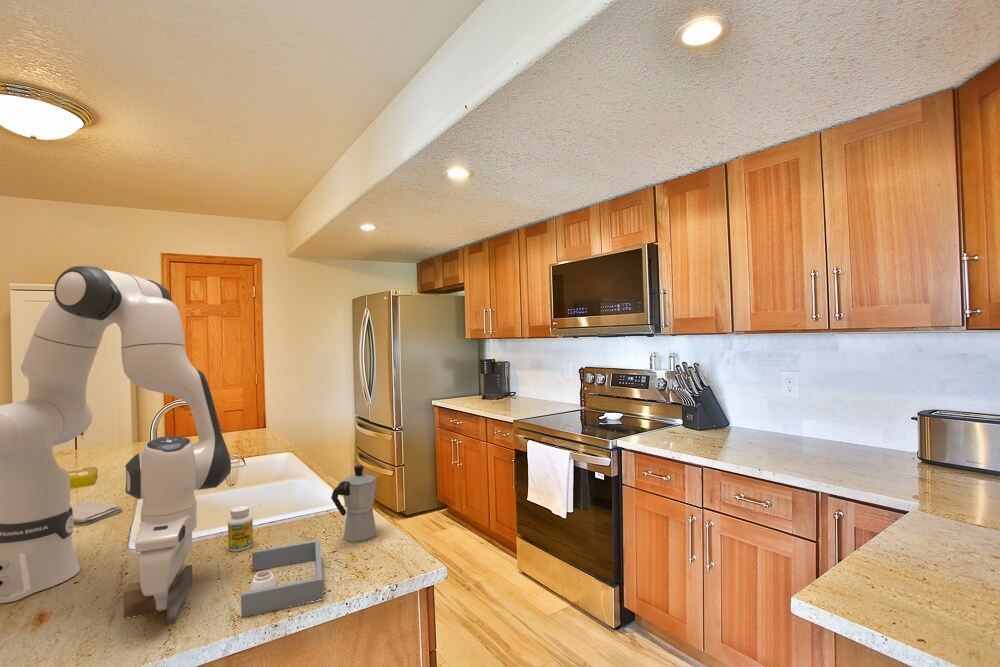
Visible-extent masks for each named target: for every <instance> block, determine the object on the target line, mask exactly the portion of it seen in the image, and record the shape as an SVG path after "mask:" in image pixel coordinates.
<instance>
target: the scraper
mask: <svg viewBox="0 0 1000 667" xmlns="http://www.w3.org/2000/svg"><path fill="white" fill-rule="evenodd" d="M193 583H194V582H193V564H188V565H184V568H183V571H182V573H181V575H180V577H179V576H176V577H175V578H174V580H173V582H172V584H171V585H170V587H169V590H168V594H169V597H168V599H167V609H164V610H159V611H162V612H165V610H167V611H166V621H167V622H166V624H167V625H168V624H169V625H174V624H176V622H177V620H178V618H179V616H180V613H181V611H182V609H183V608H184V606H185V603H186V600H187V599H188V597H189V594H190V593H191V591H192V588H193ZM159 611H158V610H157V609H156V601H155V598H154V596H153V595H151V596H144V595H143V593H142V590H141V584H140V581H139V582H133V583H129V584H128V585H127V586H126V588H125V589H124V591H123V619H124V618H126V619H128V618H127V617H131V618H134V617H133V616H137V617H140V616H139V615H142V616H145V615H144V614H147V615H150V613H152V614H155V613H154V612H157V613H160V612H159Z"/></svg>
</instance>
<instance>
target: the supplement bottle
mask: <svg viewBox="0 0 1000 667" xmlns="http://www.w3.org/2000/svg"><path fill="white" fill-rule="evenodd" d="M230 516H231V517H230V518H229V519H228V521H227V537H228V538H227V541H228V545H227V546H228V550H229V551H230V552H234V553H235V552H242V551H246V550H248V549H250V548H251V547H252V546H253V545H254V527H253V525H254V523H253V522H254V521H253V516H252V515H251V514H250V507H249V505H248V506H247V505H240V506H236V507H232V508H231V509H230Z"/></svg>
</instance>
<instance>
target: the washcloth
mask: <svg viewBox="0 0 1000 667" xmlns="http://www.w3.org/2000/svg"><path fill="white" fill-rule="evenodd" d="M70 507H72V511H73V519H74V524H73V526H77V527H85V526H88V525H91V524H95V523H98V522H100V521H103V520H105V519H108V518H110V517H111V518H112V517H113V516H116V515H119V514H121V513H122V512H123V511H124V510H123V509H122V507H120V504H112V503H110V502H95V501H93V502H90V501H89V502H88V501H87V502H86V501H80V502H77V503H73V504H70Z"/></svg>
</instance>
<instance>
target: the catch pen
mask: <svg viewBox="0 0 1000 667" xmlns="http://www.w3.org/2000/svg"><path fill="white" fill-rule="evenodd" d="M321 554H322V550H321V540H320V539H317V540H311V541H306V542H304V541H303V542H300V543H294V544H293V543H292V544H288V545H280V546H276V547H269V548H263V549H257V550H252V552H251V556H252V557H251V558H252V560H251V561H252V563H251V564H252V566H251V567H252V568H251V569H252V572H256V571H261V570H262V571H263V570H267V569H271V568H277V567H283V566H288V565H293V564H299V563H300V564H301V563H304V562H305V561H306V562H310V561H315V578H311V579H304V580H301V581H296V582H291V583H290V582H289V583H285V584H279V585H276V586H274V587H269V588H264V589H259V590H254V591H250V590H248V591H244V592H241V594H240V617H241V618H245V617H249V615H250V616H254V615H258V614H259V613H260V614H263V612H264V613H269V612H274V611H278V610H282V609H281V608H283V609H287V608H286V607H288V608H290V607H289V606H293V607H296V606H295V605H297V606H299V605H298V604H302V603H306V602H311V601H316V600H319V599H323V596H324V595H323V594H324V593H323V592H324V591H323V569H322V567H323V566H322V555H321ZM316 602H317V601H316ZM311 603H312V602H311ZM302 605H303V604H302ZM273 610H274V611H273ZM268 611H269V612H268ZM260 614H259V615H260Z"/></svg>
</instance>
